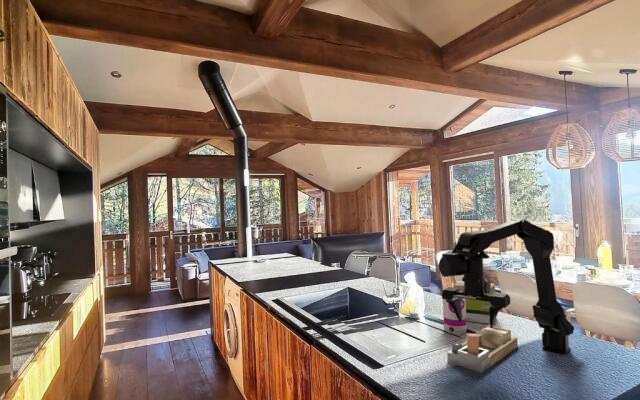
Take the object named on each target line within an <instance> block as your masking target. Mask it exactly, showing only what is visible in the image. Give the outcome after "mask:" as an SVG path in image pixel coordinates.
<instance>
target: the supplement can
mask: <svg viewBox="0 0 640 400" xmlns="http://www.w3.org/2000/svg"><path fill="white" fill-rule="evenodd" d="M461 292H463V291H461ZM461 310H462V322H459V320H458V318H457V316H456V314H455V312H454V310H453V309H452V307H451V306H450V304H449V303H448V302H446V299H442V313H443V315H442V316H443V317H442V318H443V330H444V331H445V332H447V333H448V334H453V335H462V334H465V333H466V332H467V331H468V330H467V329H468V326H467V321H466V299H465V298H462V300H461Z"/></svg>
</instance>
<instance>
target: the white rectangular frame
mask: <svg viewBox="0 0 640 400" xmlns="http://www.w3.org/2000/svg"><path fill="white" fill-rule="evenodd" d="M489 354H490V351H489V349H485V348H481V347H479V355H474V354H471V353H468V347H467V345H466V346H464V347H463V348H462V343H460V342H452V343H451V349H450V350H448V351H447V352H446V356H447V360H446V361H447V363H450V364H453V365H457V366H458V367H459V366H460V367H461V368H465V369H469V370H471V371H475V372H478V373H481V374H482V373H484V372H485V371H486V370H487V369H490V368H491V367H492V366H491V358H490V356H489Z"/></svg>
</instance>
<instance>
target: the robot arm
mask: <svg viewBox="0 0 640 400" xmlns="http://www.w3.org/2000/svg"><path fill="white" fill-rule="evenodd" d="M515 235H516V237H518V238H519V239H520V240H522V241H523V244H524V248H525V250H526V251H527V252H528V254H529V255H530V256H531V258H532V264H533V269H534V270H533V272H534V277H535V284H536V289H537V290H536V291H537V298H538V300H537V302H536V304H533V305H532V311H533V318H535V320H536V322H537V324H538V327H539V328H540V329H543V332H542V333H541V340H542V341H541V342H542V343H541V344H542V346H543V347H542V350H545V351H549V352H553V353H557V354H561V355H566V354H567V353H569V351H571V347H570V346H569V345H570V343H569V340H570V339H569V336H571V335H573V334H574V331H575V327H574V325H573V324H572V323H571V322H570V321H569V320H568V319H567V316H566V312H565V310H564V308H563V307H562V305H561V304H560V302H559V301H558V300H557V295H556V288H555V281H554V275H553V268H552V262H551V261H552V260H551V255H552V253H553V252H554V249H555V237H554V234H553V233H552V232H551V231H549V230H548V229H544V228H542V227H540V226H538V225H535V224H534V223H532V222H530V221H528V220H527V219H524V218H523V219H521V218H514V219H512V220H510V221H507V222H504V223H502V224H498V225H496V226H492V227H490V228H486V229H484V230H475V231H474V230H472V231H464V232H462V233H461V234H460V235H459V238H458V240H457V242H456V244H455V246H454V248H453V250H452V252H451V253H442V256H441V258H440V260H439V263H438V270H439V273H440V274H441V276H442V277H444V278H448V277H457V276H463V277H462V278H461V280H462V281H464V291H463V292H461V290H460V289H459V288H454V286H453V287H452V286H451V287H450V286H448V287H446V288H445V289H443V290H442V291H441V299H442V300H443V299H446V302H448V303H449V304H450V306H451V307H452V309H453V310H454V312H455V314H456V316H457V318H458V320H459V322H462V310H461V300H462V298H466V299H473V300H480V301H487V302H490V304H491V305H492V306H490V307H489V313H490V324H489V325H490V327H491V328H493V326H494V325H495V322H496V320H497V318H498V314H499V312H500V311H502V310H503V309H504V308H507V307H508V306H509V305H510V304H511V297H510V295H509V294H507V293H501V292H495V293H494V294H493V295H485V293H486V294H487V293H490V286H491V283H492V282H489V281H486V276H485V274H484V260H485V259H489V258H490V255H489V254H487V253H486V252H485V251H486V249H488V248H489V247H490V246H491V245H492V244H494V243H495V242H499V241H501V240H504V239H507V238H510V237H512V236H515ZM468 295H469V296H468ZM480 297H481V298H480Z"/></svg>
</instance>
